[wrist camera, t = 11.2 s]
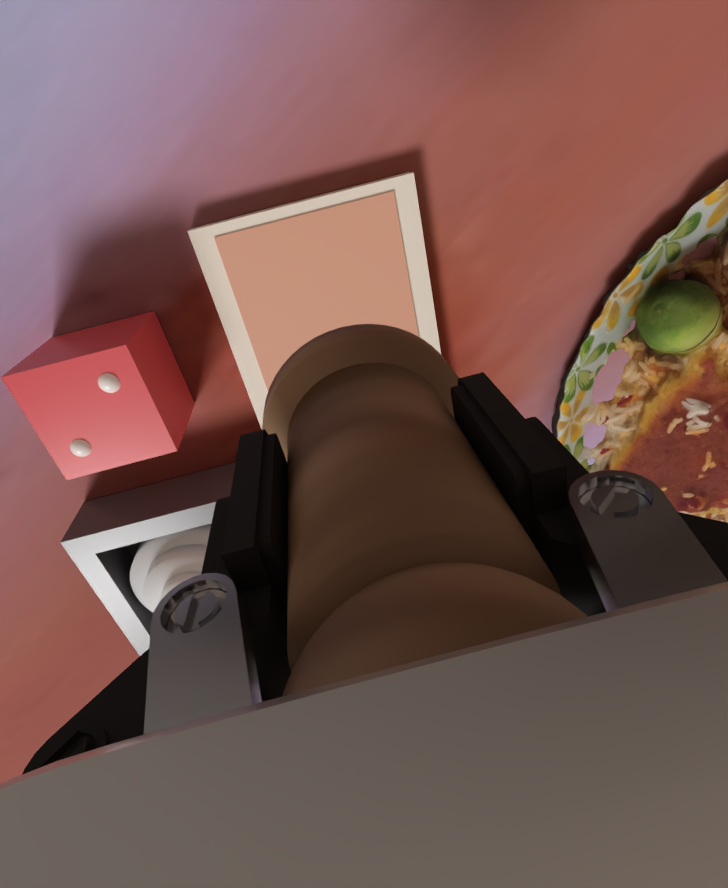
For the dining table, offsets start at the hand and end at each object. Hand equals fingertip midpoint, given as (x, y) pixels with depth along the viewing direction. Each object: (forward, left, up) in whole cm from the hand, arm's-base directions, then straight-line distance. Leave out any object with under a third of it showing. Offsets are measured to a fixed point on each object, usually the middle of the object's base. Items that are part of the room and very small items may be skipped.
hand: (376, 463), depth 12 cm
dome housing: (-11, -13, -15) cm, 23 cm away
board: (0, -9, -15) cm, 18 cm away
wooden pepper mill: (0, 0, -2) cm, 2 cm away
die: (-11, -1, -15) cm, 19 cm away
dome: (-11, -13, -14) cm, 22 cm away
